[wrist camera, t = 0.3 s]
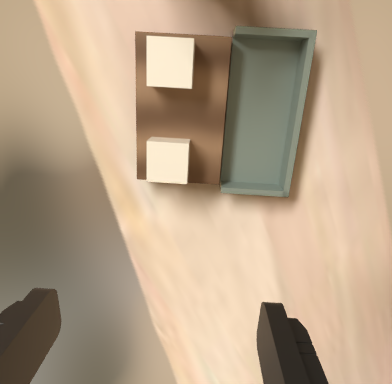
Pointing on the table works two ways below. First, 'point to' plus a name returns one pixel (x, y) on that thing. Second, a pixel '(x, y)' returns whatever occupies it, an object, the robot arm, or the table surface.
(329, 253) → the table surface
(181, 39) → the tile
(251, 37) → the tray
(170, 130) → the walnut board
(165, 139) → the cream square block
